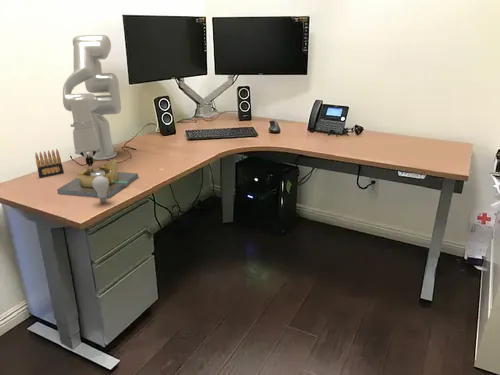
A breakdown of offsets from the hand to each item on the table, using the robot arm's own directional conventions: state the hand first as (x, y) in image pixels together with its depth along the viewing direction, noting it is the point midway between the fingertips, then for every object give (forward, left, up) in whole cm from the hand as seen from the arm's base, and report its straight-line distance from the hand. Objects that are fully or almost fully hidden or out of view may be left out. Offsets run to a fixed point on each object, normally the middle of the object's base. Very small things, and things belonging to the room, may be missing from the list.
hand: (90, 165), depth 189 cm
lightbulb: (+23, +20, -6) cm, 31 cm away
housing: (+7, +8, -6) cm, 12 cm away
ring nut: (+4, +8, -4) cm, 10 cm away
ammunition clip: (0, -22, -6) cm, 23 cm away
